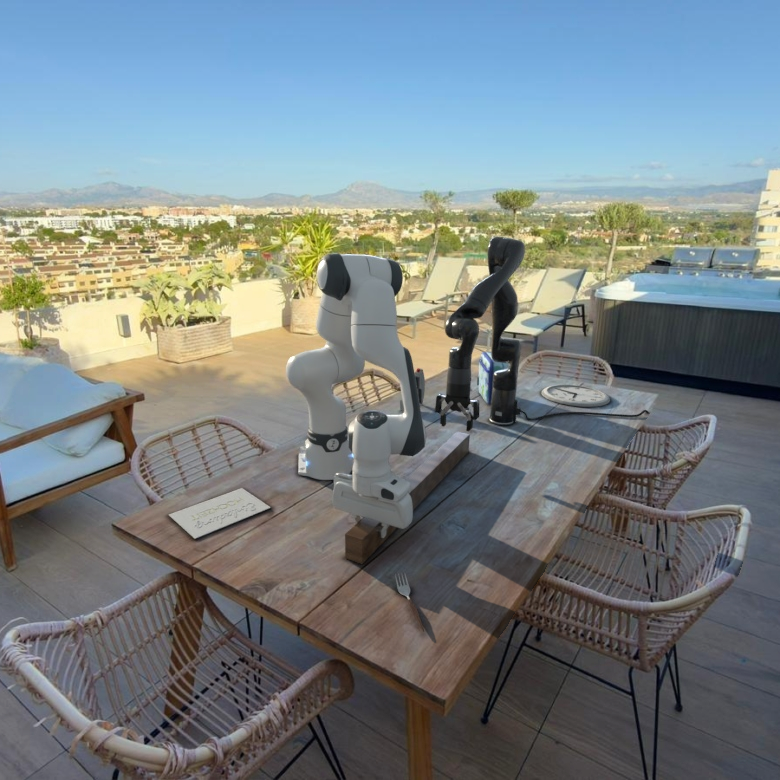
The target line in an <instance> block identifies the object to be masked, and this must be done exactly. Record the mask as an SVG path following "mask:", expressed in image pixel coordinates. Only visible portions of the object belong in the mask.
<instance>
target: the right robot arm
mask: <svg viewBox="0 0 780 780" xmlns="http://www.w3.org/2000/svg"><path fill="white" fill-rule="evenodd" d="M486 252H487V253H486V257H487V259H486V260H487V266H488V275H489V276H488V277H485V278H484V279H483V280H481V281H479V282H478V283H477V284H476V285H475V286H474V287H473V288H472V290H470V293H469V294H468V296H467V298H466V299H465V300H464V302H463V303H462V304H461V305H460V306H459V307H458V308H457V309H456V310H455V311H454V312H453V313H452V314H451V315H450V316H449V317H448V319H447V320H446V321H445V325H444V333H445V336H446V337H448V338H449V339H452V340H457V341H461V344H460V345H459V346H453V347H451V348H450V349H449V351H448V364H447V365H448V366H447V372H446V391H445V393H446V394H445V395H444V394H442V393H439V394H437V395H436V397H435V398H436V399H435V406H434V412H435V414H439V415H440V416H439V424H440V425H441V427H444V428H445V426H446V425H447V412H448V411H450V410H451V412H458V413H462V414H463V416H465V418H466V419H467V420H466V432H470V431H471V430H473V426H474V425H473V423H474V421H477V420H478V419H479V418H480V400H479V399H476V400H472V399H471V387H472V385H471V384H472V356H473V352H474V350H475V346H476V343H477V340H478V337H479V334H480V325H479V323H478V321H477V319H481V318H482V317H483V316H484V314H485V313H486V311H487V310H488V308H489V306H490V314H491V315H490V317H491V345H490V352H491V356H492V359H493V361H495V362H501V363H508V364H509V365H508V366H509V367H507V368H505V369H501V370H497V371H495V372H494V374H493V385H492V398H491V404H490V410H489V411H490V413H489V414H490V415H489V422H490V423H491V424H494V425H497V426H511V425H513V424H516V423H517V416H520V415H521V413H522V414H523V415H524V418H525V419H526V420H527V421H537V420H541V419H544V418H550V417H554V416H561V415H593V416H606V417H607V416H608V417H621V418H622V417H623V418H637V417H640V416H642V415H643V414H644V413H645V414H650V412H649V411H648V410H647V409H643V410H641V411H640V413H638V414H621V413H605V412H590V411H563V412H555V413H551V414H546V415H540V416H537V417H533V418H530V417H528V416H529V415H528V414H527V412H525V411H524V410H523V409H522V408H521V407H520V406H518V399H517V388H518V377H519V366H520V359H521V353H522V343H521V341H520V340H519V339H515V338H504V337H502V335H503V334H504V332H505V330H506V329H507V328H508V327H509V326H510V325H511V324H512V322H514V320H515V319H516V318H517V315H518V300H519V299H518V294H517V292H516V290H515V288H514V286H513V285H512V284H511V282H510V278H511V277H512V276H513V275H514V273H515V272H516V271H517V270H518V269H519V267H520V266H521V264H522V262H523V260H524V258H525V254H526V245H525V243H524V242H523V241H522V240H520V239H519V240H518V239H516V238H509V237H505V236H494V237H492V238H491V239H490V241H489V242H488V246H487V251H486ZM443 402H445V403H446V405H445V407H444V408H443V407H442V406H443ZM470 405H471V408H472V409H471V408H470V407H469V406H470ZM442 408H443V409H442Z"/></svg>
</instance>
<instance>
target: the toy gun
mask: <svg viewBox="0 0 780 780" xmlns="http://www.w3.org/2000/svg"><path fill="white" fill-rule="evenodd" d="M414 373H415V378H416V385H417V391H418V397H419V403H420V405H423V403H424V400H425V399H424V398H425V390H426V384H425V383H426V380H425V374H424V369H423V368H420V367H417V368H416V370H415V371H414ZM399 410H400V412H403V413H404V406H403V399H401V400H400V401H399Z"/></svg>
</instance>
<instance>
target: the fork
mask: <svg viewBox="0 0 780 780" xmlns="http://www.w3.org/2000/svg"><path fill="white" fill-rule="evenodd" d="M403 573H404V576H403ZM397 574H398V578H397ZM397 574H396V573H394V575H395V577H394V578H395V582H396V588H397V591H398V593H399V594H400V595H402V596H404V597H406V598H407V601H408V605H409V609H410V612H411V613H412V615H413V617H414V619H415V620H416V622H417V625H419V628H420V630H422V632H425V628H424V624H423V623H422V619H421V616H420V614H419V611H418V609H417V606H416V605H415V603H414V602H413V600H412V599H411V598H410V594H411V588H410V584H409V582H408V579H407V575H406V572H401V577H400V574H399V573H397ZM401 580H402V581H401ZM398 581H399V582H398Z"/></svg>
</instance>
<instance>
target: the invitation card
mask: <svg viewBox="0 0 780 780" xmlns="http://www.w3.org/2000/svg"><path fill="white" fill-rule="evenodd" d="M269 509H271V506H270V505H268V504H267V503H265V502H264V501H262V500H261V499H259V498H258V497H256V496H255V495H253V494H252V493H250V492H249V491H247V490H246V489H244V488H243V487H239V488H238V489H234V490H233V491H229V492H227V493H224V494H221V495H219V496H216V497H213V498H210V499H207V500H204V501H202V502H199V503H196V504H194V505H191V506H187V507H186V508H182V509H180V510H177V511H174V512H172V513H169V514H168V516H169V517H170V519H172V520H173V522H175V523H176V524H177V525H178V526H179V527H181V528H182V529H183V530H184V532H186V533H187V534H188V535H190V537H191V538H193V539H194V540H196V539H199V538H201V537H204V536H207V535H208V534H211V533H214V532H216V531H218V530H220V529H223V528H225V527H228V526H231V525H233V524H235V523H239V522H240V521H243V520H246V519H247V518H250V517H252V516H254V515H257V514H260V513H263V512H265V511H267V510H269Z"/></svg>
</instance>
